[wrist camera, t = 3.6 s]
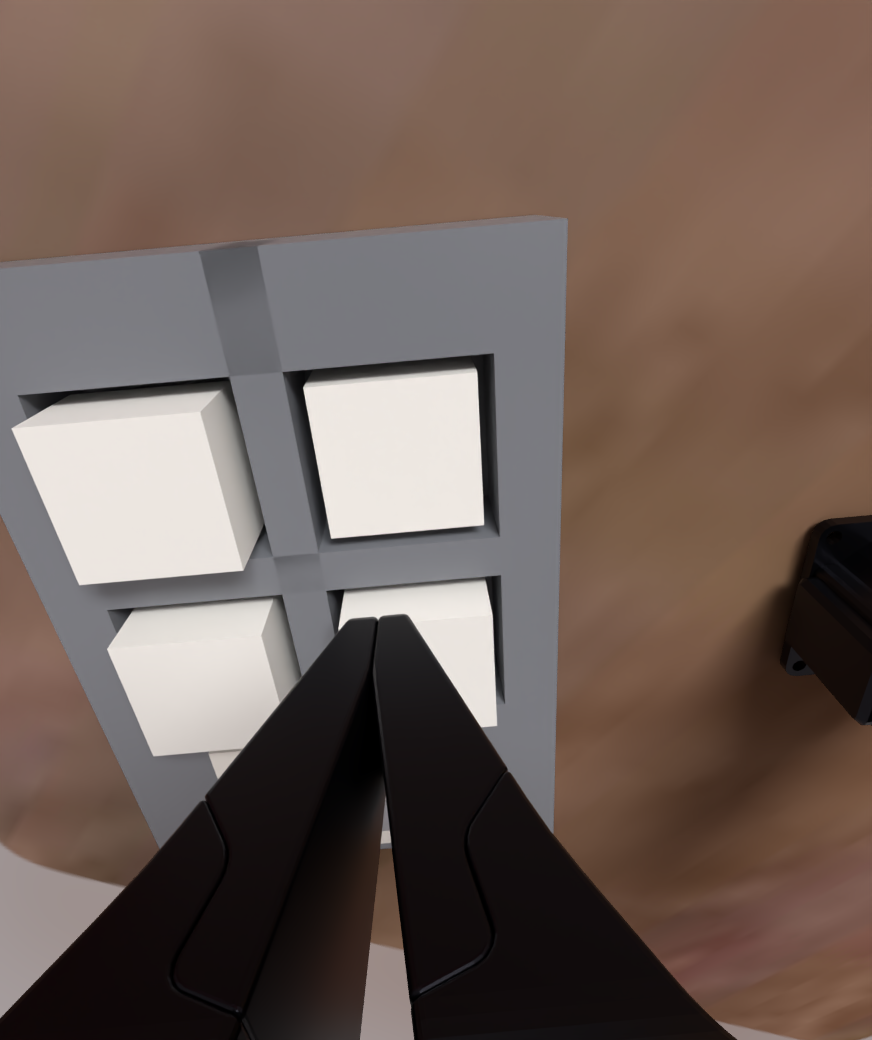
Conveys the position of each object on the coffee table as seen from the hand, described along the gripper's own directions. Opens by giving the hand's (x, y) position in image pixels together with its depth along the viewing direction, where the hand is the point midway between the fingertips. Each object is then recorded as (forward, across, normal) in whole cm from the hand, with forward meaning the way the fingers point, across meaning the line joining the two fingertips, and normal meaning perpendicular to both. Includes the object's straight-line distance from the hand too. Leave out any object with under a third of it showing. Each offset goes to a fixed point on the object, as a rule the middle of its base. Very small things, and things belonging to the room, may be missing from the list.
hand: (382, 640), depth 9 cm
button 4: (+8, 0, +6) cm, 10 cm away
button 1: (+8, +6, 0) cm, 10 cm away
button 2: (+8, +6, +6) cm, 12 cm away
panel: (+10, +3, +5) cm, 12 cm away
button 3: (+9, 0, 0) cm, 9 cm away
